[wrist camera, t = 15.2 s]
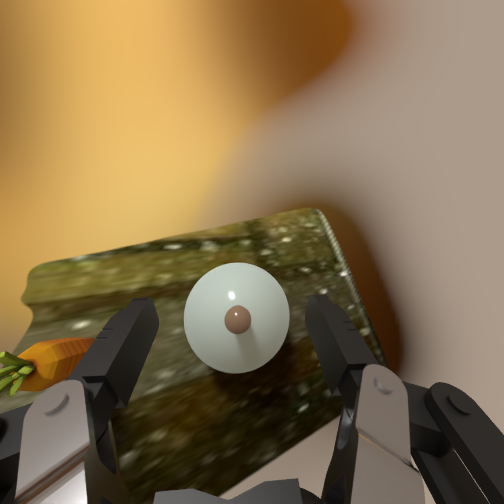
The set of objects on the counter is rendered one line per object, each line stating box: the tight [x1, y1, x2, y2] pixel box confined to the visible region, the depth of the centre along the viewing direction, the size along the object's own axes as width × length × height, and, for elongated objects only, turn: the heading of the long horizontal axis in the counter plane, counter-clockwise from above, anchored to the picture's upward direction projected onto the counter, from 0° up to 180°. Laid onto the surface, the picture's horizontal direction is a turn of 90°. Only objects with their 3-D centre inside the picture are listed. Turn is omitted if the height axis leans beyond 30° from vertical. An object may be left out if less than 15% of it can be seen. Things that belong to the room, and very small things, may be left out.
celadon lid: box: [184, 263, 289, 373], centre depth 22 cm, size 14×14×10 cm
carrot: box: [0, 338, 96, 397], centre depth 23 cm, size 5×5×15 cm
